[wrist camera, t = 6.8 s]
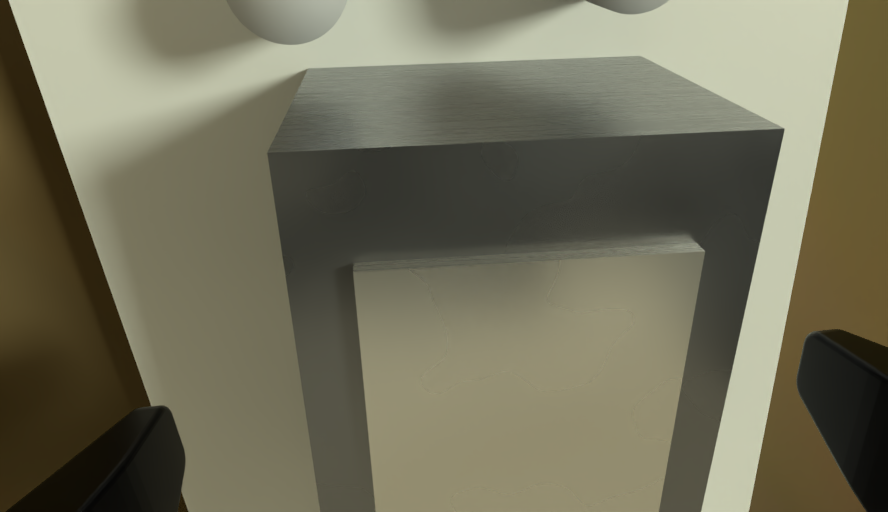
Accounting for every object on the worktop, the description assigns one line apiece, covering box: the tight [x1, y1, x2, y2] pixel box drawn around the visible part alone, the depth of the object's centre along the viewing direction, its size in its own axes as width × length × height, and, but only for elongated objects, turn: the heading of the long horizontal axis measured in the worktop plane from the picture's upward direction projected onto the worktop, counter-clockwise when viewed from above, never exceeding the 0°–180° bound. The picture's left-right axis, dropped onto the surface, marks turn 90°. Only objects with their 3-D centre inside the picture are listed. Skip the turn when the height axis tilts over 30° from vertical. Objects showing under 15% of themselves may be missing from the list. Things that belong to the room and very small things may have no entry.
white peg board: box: [9, 0, 849, 512], centre depth 11 cm, size 12×16×3 cm
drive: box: [267, 56, 785, 512], centre depth 10 cm, size 5×8×4 cm, turn 1°
